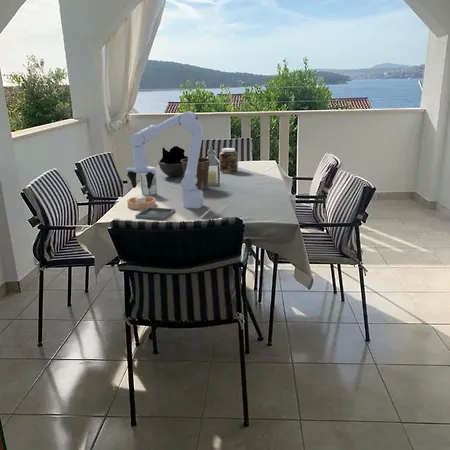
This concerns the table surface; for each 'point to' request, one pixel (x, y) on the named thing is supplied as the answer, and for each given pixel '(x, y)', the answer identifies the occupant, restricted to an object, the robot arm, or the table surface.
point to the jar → (228, 160)
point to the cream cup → (140, 199)
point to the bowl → (149, 203)
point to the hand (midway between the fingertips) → (142, 187)
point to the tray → (155, 213)
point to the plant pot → (200, 172)
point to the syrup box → (144, 184)
